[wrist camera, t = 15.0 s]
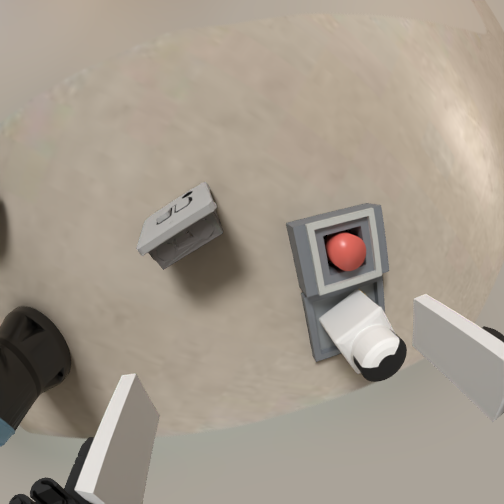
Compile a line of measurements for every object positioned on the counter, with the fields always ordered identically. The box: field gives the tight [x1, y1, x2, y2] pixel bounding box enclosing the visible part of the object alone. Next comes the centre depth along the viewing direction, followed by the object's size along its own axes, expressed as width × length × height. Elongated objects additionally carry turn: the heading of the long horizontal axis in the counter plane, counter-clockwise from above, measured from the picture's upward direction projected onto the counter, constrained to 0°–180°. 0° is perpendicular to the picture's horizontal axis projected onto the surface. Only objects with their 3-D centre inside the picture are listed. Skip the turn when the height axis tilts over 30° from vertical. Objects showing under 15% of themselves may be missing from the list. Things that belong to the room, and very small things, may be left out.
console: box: [286, 203, 389, 362], centre depth 37 cm, size 12×21×5 cm, turn 14°
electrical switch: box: [136, 182, 223, 270], centre depth 32 cm, size 9×5×9 cm, turn 120°
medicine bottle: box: [319, 289, 407, 382], centre depth 33 cm, size 7×7×12 cm
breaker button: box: [324, 231, 366, 271], centre depth 35 cm, size 4×4×4 cm
